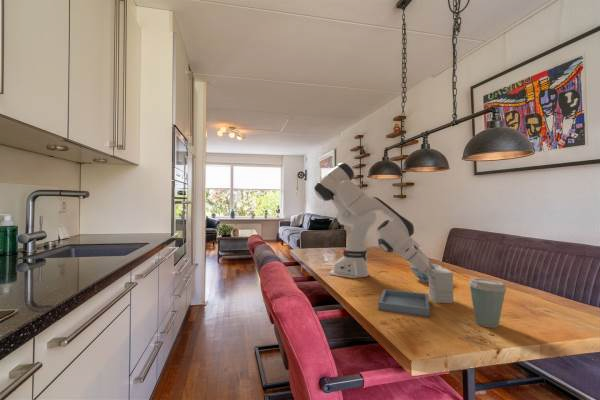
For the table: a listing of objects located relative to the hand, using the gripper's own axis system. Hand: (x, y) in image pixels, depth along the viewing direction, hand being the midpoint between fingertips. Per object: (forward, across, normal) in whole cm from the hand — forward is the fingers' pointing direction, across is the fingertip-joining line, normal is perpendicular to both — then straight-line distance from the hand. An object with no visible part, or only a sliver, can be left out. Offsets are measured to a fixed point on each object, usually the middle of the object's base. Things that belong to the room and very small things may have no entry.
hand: (435, 273), depth 119 cm
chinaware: (+6, -30, -11) cm, 33 cm away
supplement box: (+9, 0, -7) cm, 12 cm away
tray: (-1, +12, -16) cm, 20 cm away
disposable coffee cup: (+19, +20, +2) cm, 27 cm away
